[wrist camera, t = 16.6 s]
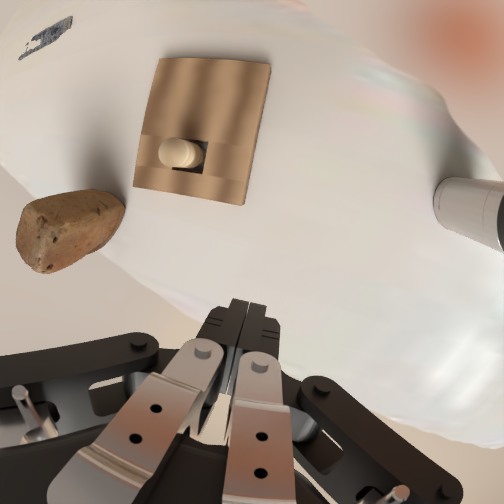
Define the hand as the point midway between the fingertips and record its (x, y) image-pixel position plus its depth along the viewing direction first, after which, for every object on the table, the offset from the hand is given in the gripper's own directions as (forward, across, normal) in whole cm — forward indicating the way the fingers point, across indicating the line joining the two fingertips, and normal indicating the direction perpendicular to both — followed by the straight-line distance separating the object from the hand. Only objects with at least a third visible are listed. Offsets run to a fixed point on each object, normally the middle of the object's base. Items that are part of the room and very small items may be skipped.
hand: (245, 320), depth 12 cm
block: (+32, +30, +6) cm, 44 cm away
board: (+32, +14, -12) cm, 37 cm away
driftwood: (+33, +64, -37) cm, 81 cm away
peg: (+32, +14, -7) cm, 36 cm away
